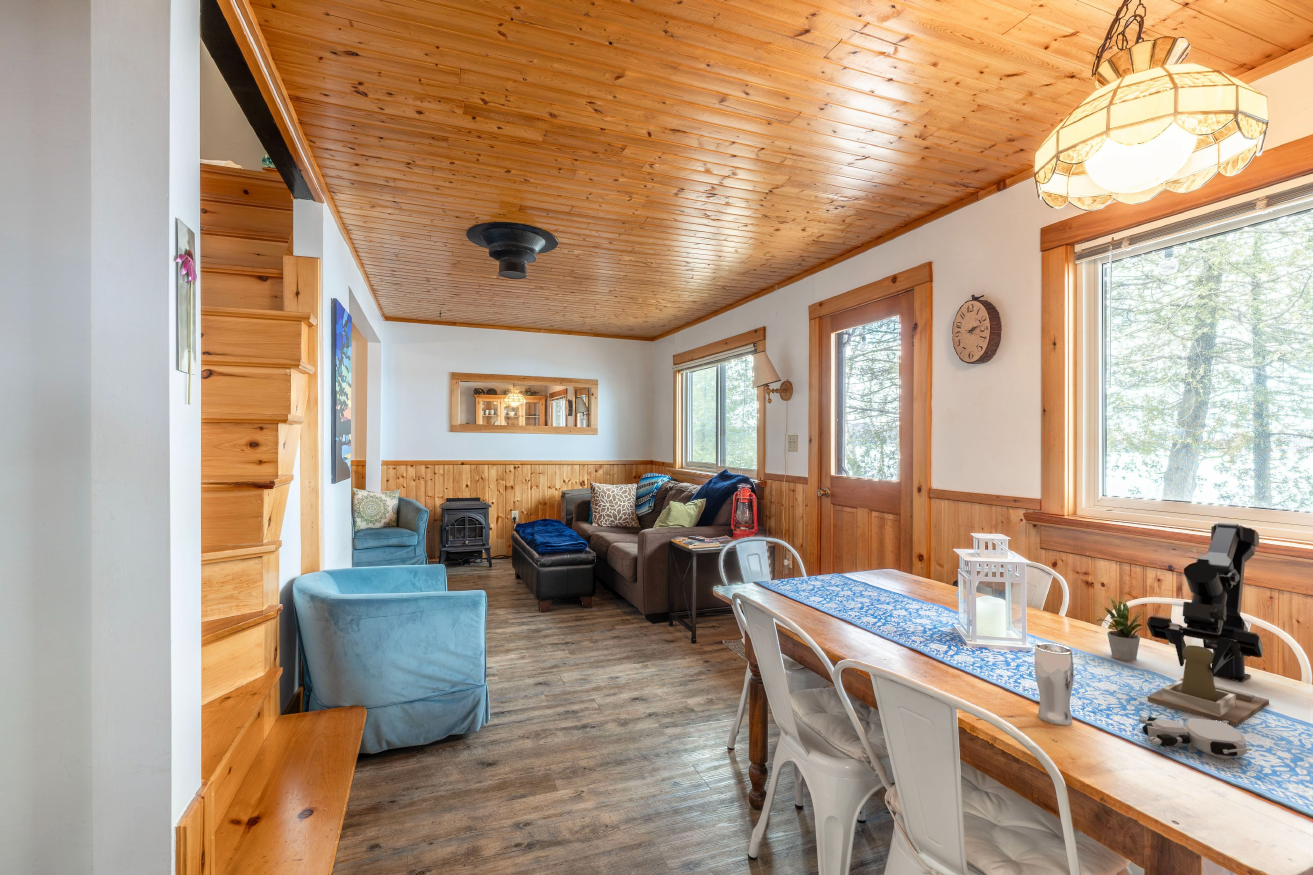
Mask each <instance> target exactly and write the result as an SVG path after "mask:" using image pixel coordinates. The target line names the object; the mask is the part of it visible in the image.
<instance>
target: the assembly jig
mask: <svg viewBox="0 0 1313 875" xmlns="http://www.w3.org/2000/svg"><path fill="white" fill-rule="evenodd" d="M1182 682H1183V677H1182V678H1180V679H1178V680H1176V681H1174V682H1173V683H1169V685H1166V686H1165V687H1162V688H1161V689H1159V690H1157V691H1155V692H1153V693H1152V694H1150V695H1148V696H1147V702H1150V701H1151V702H1150V703H1154V702H1155V703H1154V704H1157V705H1161V706H1164V707H1167V708H1172V709H1175V710H1178V711H1182V712H1185V713H1188V714H1191V713H1192V714H1191V715H1195V716H1198V715H1199V717H1202V716H1203V717H1202V718H1206V719H1208V720H1217V721H1229V722H1228V723H1227V724H1228V725H1229V724H1231V725H1230V726H1233V725H1234V726H1233V727H1236V726H1237V727H1239V726H1240V725H1241V724H1243V723H1245V722H1246V721H1247V720H1249V719H1250V718H1252V716H1254V715H1256V714H1257V713H1259V712H1260V711H1261V710H1264V708H1265V707H1267V706H1269V705H1270V699H1269V698H1264V697H1260V696H1256V694H1253V693H1250V692H1245V691H1241V690H1237V689H1234V688H1231V687H1230V688H1229V687H1225V686H1221V685H1217V684H1214V685H1215V690H1216V695H1217V700H1218V701H1217V702H1213V701H1209V700H1205V699H1202V698H1198V697H1194V696H1191V695H1187V694H1183V693H1181V689H1182ZM1248 718H1249V719H1248ZM1245 720H1246V721H1245ZM1242 722H1243V723H1242ZM1239 724H1240V725H1239ZM1238 725H1239V726H1238Z"/></svg>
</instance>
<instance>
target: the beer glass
mask: <svg viewBox="0 0 1313 875" xmlns="http://www.w3.org/2000/svg"><path fill="white" fill-rule="evenodd" d="M1034 647H1035V650H1034V675H1035V680H1036V684H1037V685H1036V686H1037V688H1038V692H1039V707H1038V713H1037V717H1038V718H1039V719H1040V720H1042V721H1044V722H1045V723H1048V724H1051V725H1057V726H1069V725H1072V724H1073V717H1072V712H1071V697H1072V691H1073V686H1074V678H1075V674H1074V673H1075V672H1074V671H1075V669H1074V658H1073V650H1072V649H1071V648H1069V647H1068V646H1066V645H1065V646H1064V645H1061V644H1056V643H1049V642H1041V643H1037V644H1035V646H1034Z"/></svg>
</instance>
